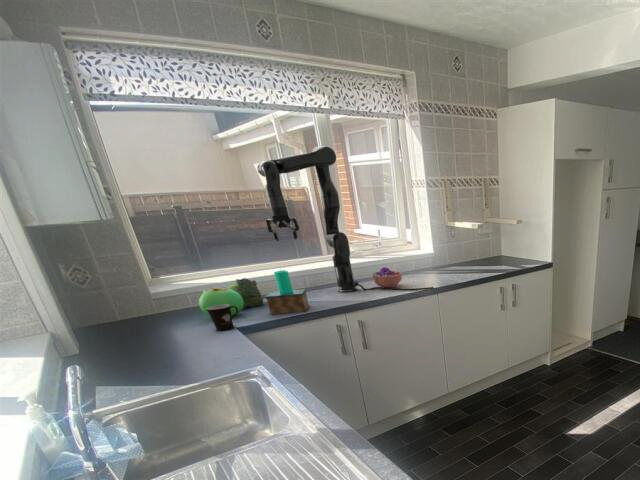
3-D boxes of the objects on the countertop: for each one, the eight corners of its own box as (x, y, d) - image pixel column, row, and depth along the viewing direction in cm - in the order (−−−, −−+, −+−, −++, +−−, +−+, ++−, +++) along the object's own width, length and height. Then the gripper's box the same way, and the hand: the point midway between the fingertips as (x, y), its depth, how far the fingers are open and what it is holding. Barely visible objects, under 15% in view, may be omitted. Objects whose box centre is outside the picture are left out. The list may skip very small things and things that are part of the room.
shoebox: (310, 306, 220) (305, 289, 216) (306, 311, 211) (301, 293, 207) (275, 309, 216) (270, 291, 213) (270, 314, 207) (265, 296, 203)
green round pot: (200, 323, 197) (189, 292, 190) (209, 314, 211) (199, 285, 204) (244, 318, 202) (234, 288, 196) (250, 309, 217) (241, 281, 210)
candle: (284, 294, 206) (277, 269, 201) (277, 293, 209) (270, 268, 204) (295, 292, 211) (289, 267, 205) (288, 290, 213) (282, 266, 208)
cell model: (377, 292, 245) (373, 272, 240) (372, 285, 261) (369, 267, 256) (406, 288, 251) (403, 269, 246) (399, 282, 267) (397, 264, 262)
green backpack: (223, 306, 222) (214, 278, 215) (264, 302, 230) (257, 275, 222) (221, 313, 214) (211, 284, 206) (264, 309, 221) (256, 281, 214)
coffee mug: (215, 333, 183) (208, 310, 178) (212, 328, 189) (204, 307, 184) (245, 327, 189) (239, 305, 185) (241, 323, 195) (235, 302, 191)
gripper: (294, 204, 215) (302, 238, 222) (264, 206, 212) (273, 240, 219) (291, 205, 208) (300, 239, 216) (260, 207, 205) (270, 242, 213)
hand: (286, 239), depth 217 cm, fingers open, 8 cm apart
